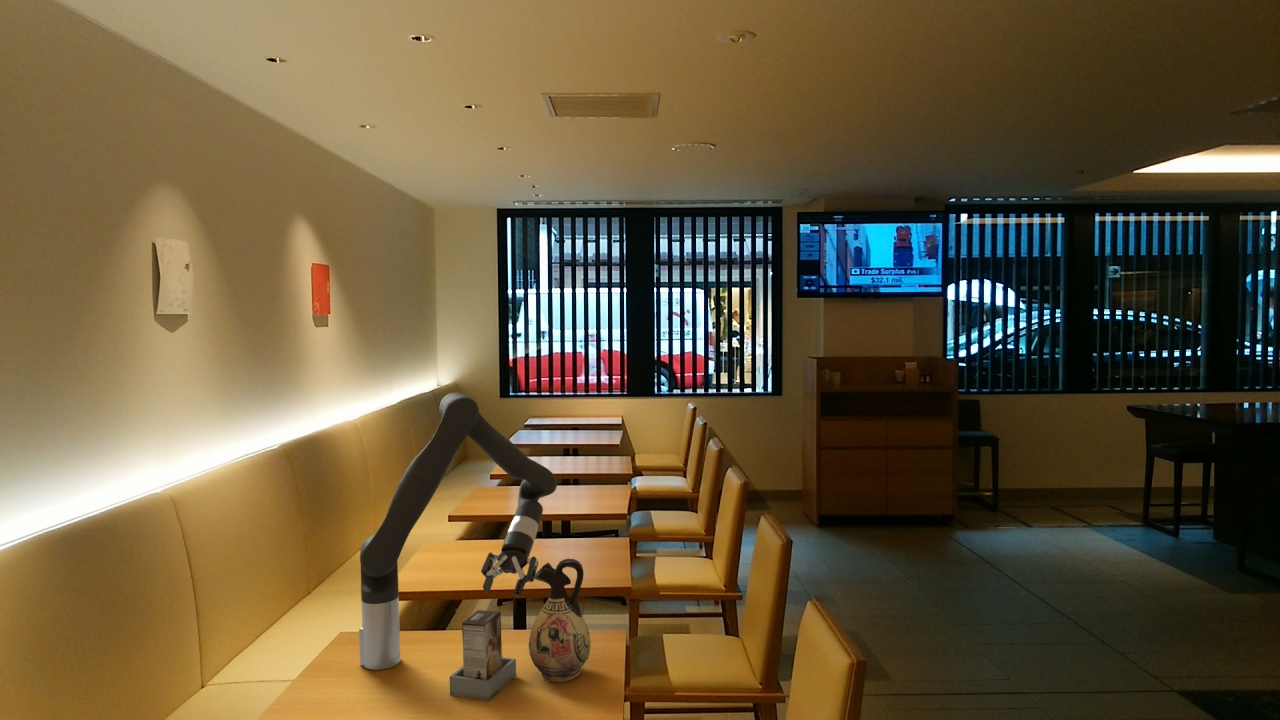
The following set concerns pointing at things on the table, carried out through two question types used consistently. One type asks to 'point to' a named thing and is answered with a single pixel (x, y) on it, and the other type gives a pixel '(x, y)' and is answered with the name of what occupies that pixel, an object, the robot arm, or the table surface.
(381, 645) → the robot arm
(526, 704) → the table surface
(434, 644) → the table surface
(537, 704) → the table surface
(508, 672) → the grey tub
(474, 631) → the coffee box
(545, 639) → the ceramic jug
